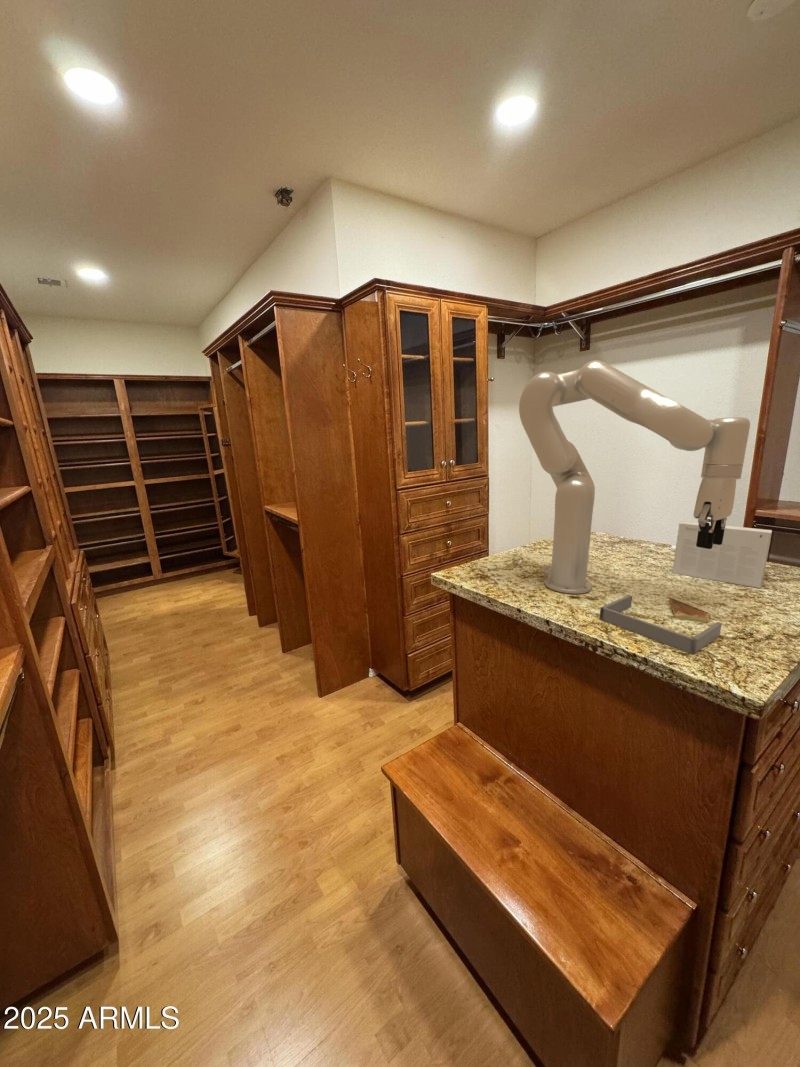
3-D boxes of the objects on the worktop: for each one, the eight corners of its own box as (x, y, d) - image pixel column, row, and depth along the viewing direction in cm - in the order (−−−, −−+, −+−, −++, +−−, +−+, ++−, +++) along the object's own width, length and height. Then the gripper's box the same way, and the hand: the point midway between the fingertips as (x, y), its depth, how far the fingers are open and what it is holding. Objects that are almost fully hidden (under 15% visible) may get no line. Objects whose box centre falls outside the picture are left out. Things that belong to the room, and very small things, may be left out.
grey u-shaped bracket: (599, 619, 97) (600, 607, 96) (627, 605, 104) (629, 594, 103) (693, 654, 81) (695, 640, 80) (719, 635, 88) (721, 623, 87)
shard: (668, 603, 106) (669, 596, 105) (704, 608, 102) (705, 601, 102) (673, 620, 97) (674, 613, 96) (713, 626, 93) (714, 619, 93)
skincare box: (762, 583, 116) (773, 529, 112) (761, 589, 112) (772, 533, 109) (674, 568, 130) (682, 520, 126) (671, 573, 126) (678, 523, 123)
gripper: (717, 468, 104) (705, 537, 108) (687, 473, 95) (676, 548, 99) (754, 470, 98) (740, 543, 102) (726, 475, 89) (712, 555, 93)
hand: (709, 545), depth 101 cm, fingers open, 5 cm apart
